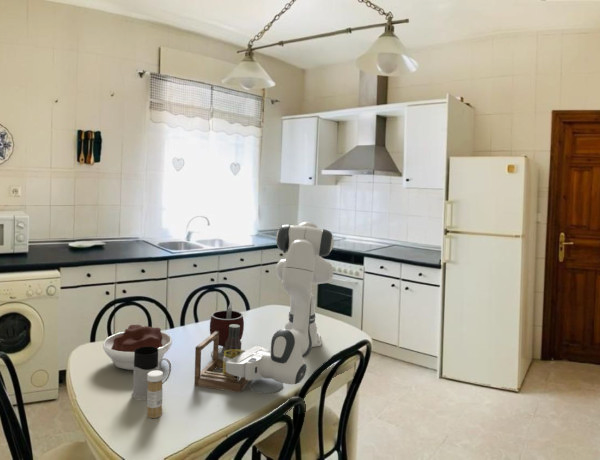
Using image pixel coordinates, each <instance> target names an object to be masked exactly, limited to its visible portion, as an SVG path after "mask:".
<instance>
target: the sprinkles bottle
mask: <svg viewBox="0 0 600 460" xmlns="http://www.w3.org/2000/svg"><path fill="white" fill-rule="evenodd" d="M163 379H164V372H163V371H162V370H155V371H151V372H149V373H148V374H147V380H148V389H147V401H146V406H147V410H146V411H147V413H146V416H147V417H148V418H151V419H155V418H156V419H157V418H160V417H161V416H162V414H163V411H162V410H163V408H162V407H163V384H162V383H163Z"/></svg>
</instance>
